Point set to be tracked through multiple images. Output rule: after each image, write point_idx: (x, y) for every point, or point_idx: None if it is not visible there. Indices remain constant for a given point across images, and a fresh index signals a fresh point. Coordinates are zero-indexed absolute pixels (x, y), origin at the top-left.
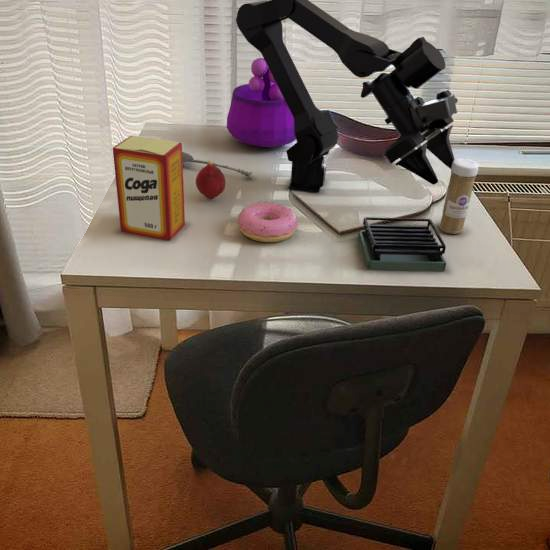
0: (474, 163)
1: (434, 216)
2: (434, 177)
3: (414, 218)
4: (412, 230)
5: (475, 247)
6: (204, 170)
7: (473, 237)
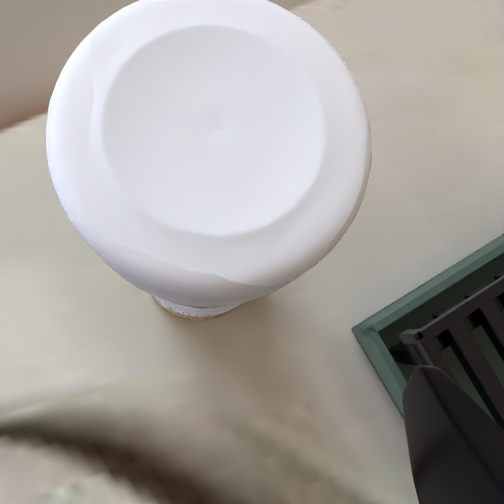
0: (193, 27)
1: (93, 373)
2: (477, 407)
3: None
4: (500, 390)
5: None
6: None
7: None
